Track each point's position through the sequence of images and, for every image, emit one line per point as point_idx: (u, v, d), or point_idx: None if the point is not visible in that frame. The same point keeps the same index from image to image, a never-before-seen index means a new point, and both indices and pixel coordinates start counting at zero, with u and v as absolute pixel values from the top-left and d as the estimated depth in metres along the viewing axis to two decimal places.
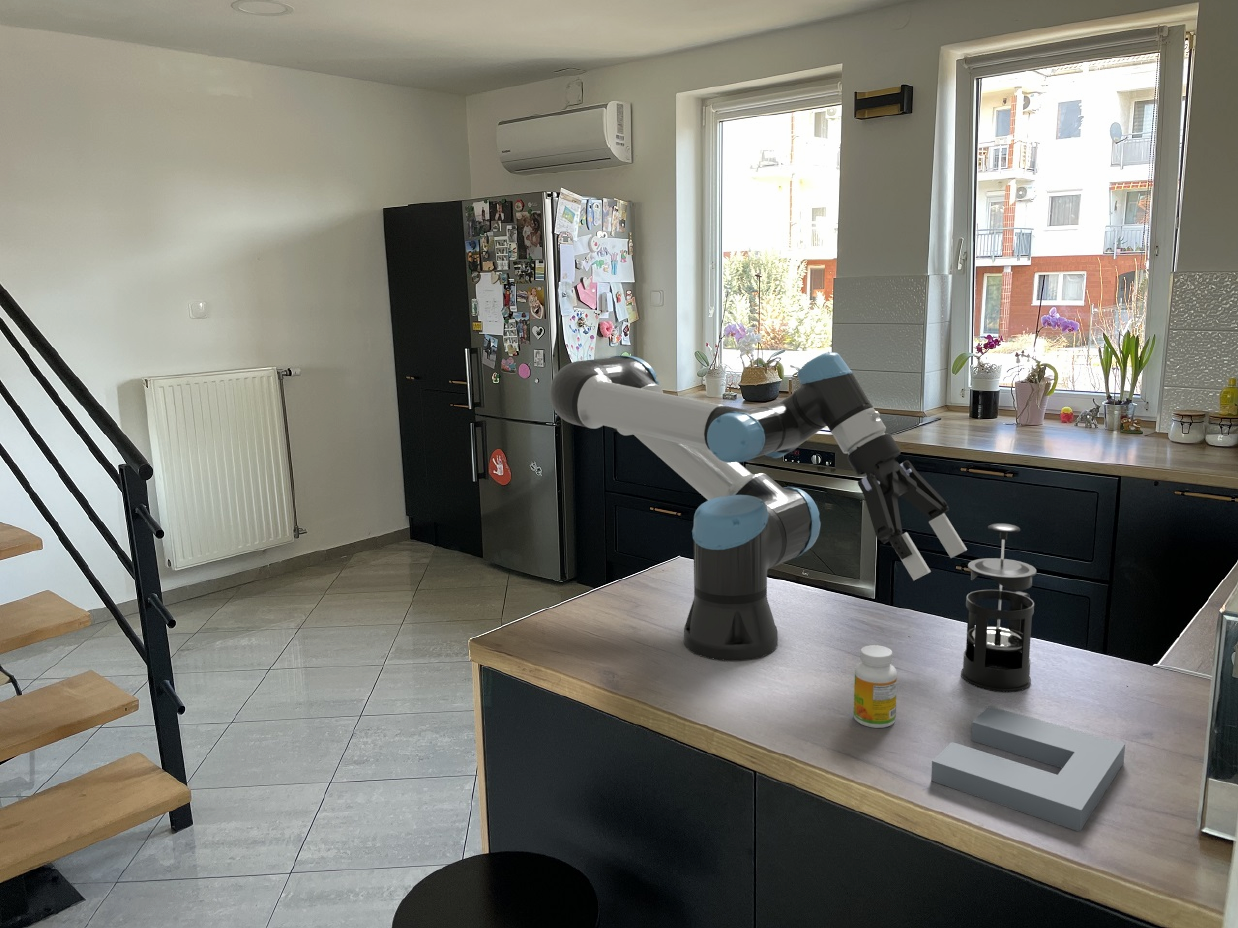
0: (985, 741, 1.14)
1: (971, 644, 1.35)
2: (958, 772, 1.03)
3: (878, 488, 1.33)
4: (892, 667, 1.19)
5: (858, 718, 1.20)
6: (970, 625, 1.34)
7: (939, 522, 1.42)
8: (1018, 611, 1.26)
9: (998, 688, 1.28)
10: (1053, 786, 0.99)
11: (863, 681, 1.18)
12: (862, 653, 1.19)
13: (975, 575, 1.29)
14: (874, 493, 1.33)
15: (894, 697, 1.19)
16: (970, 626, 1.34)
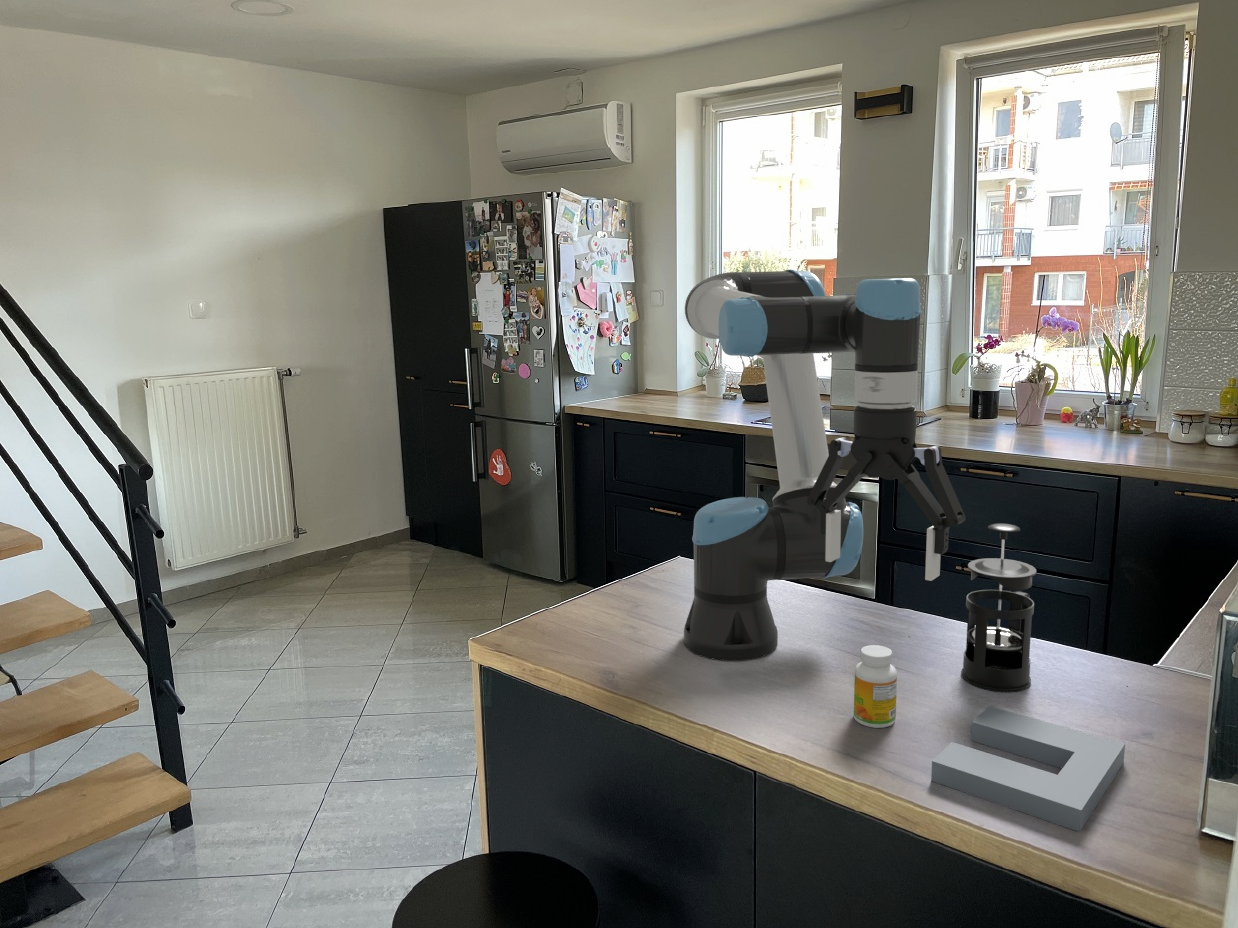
0: (985, 741, 1.14)
1: (971, 644, 1.35)
2: (958, 772, 1.03)
3: (832, 458, 1.18)
4: (892, 667, 1.19)
5: (858, 718, 1.20)
6: (970, 625, 1.34)
7: None
8: (1018, 611, 1.26)
9: (998, 688, 1.28)
10: (1053, 786, 0.99)
11: (863, 681, 1.18)
12: (862, 653, 1.19)
13: (975, 575, 1.29)
14: None
15: (894, 697, 1.19)
16: (970, 626, 1.34)
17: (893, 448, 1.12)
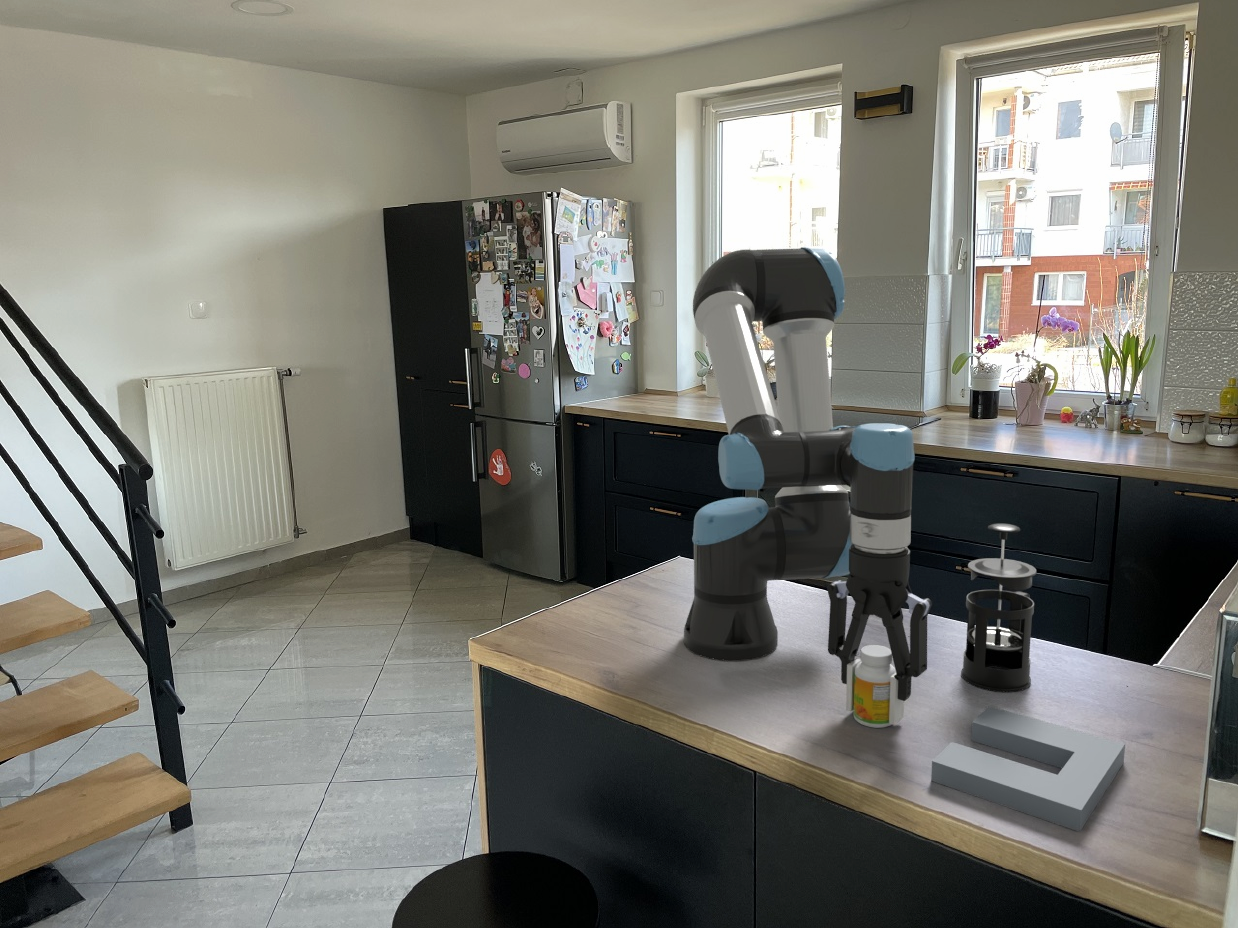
0: (985, 741, 1.14)
1: (971, 644, 1.35)
2: (958, 772, 1.03)
3: (834, 603, 1.21)
4: (892, 667, 1.19)
5: (858, 718, 1.20)
6: (970, 625, 1.34)
7: None
8: (1018, 611, 1.26)
9: (998, 688, 1.28)
10: (1053, 786, 0.99)
11: (863, 680, 1.18)
12: (862, 653, 1.19)
13: (975, 575, 1.29)
14: None
15: None
16: (970, 626, 1.34)
17: (889, 586, 1.15)
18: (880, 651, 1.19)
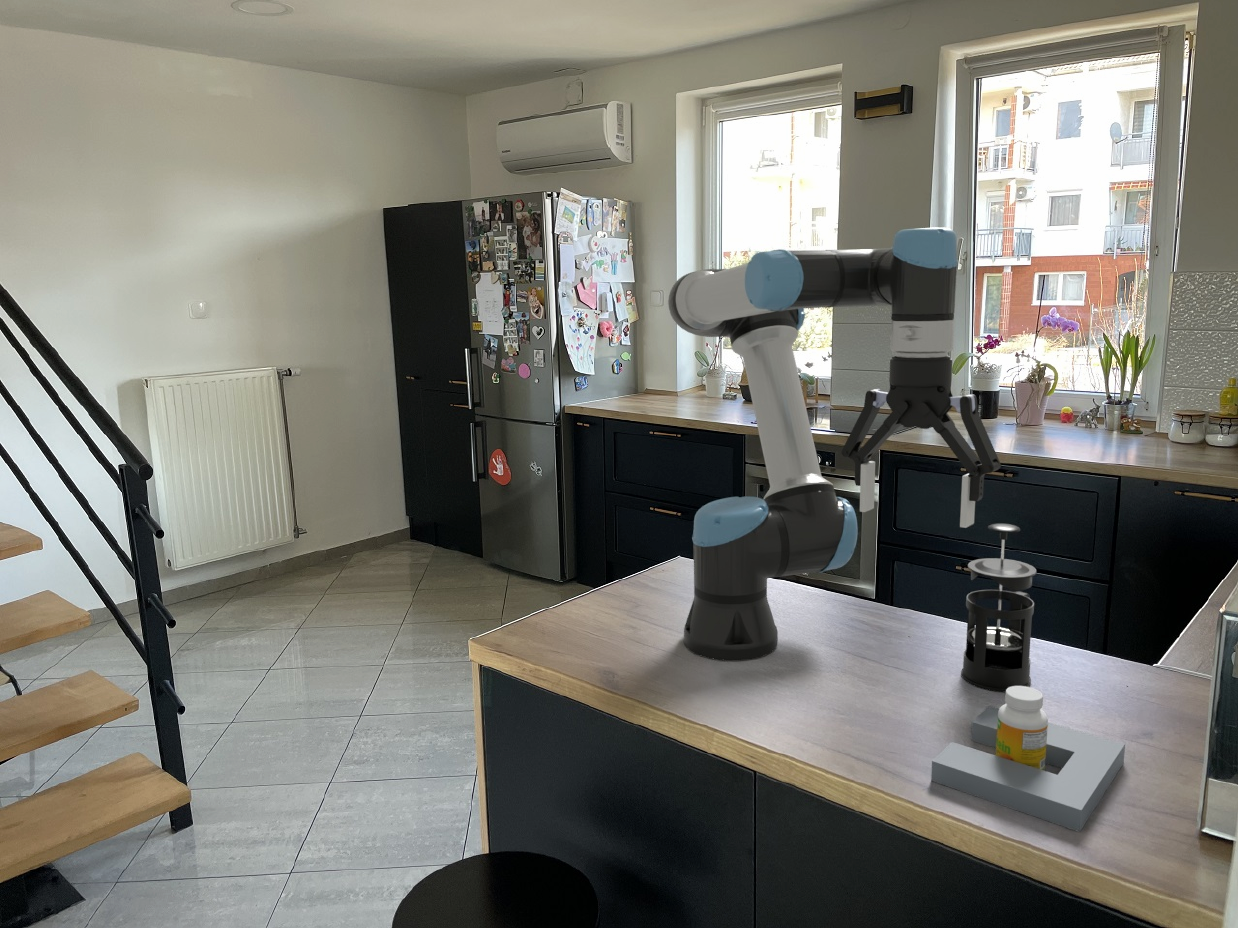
0: (985, 741, 1.14)
1: (971, 644, 1.35)
2: (958, 772, 1.03)
3: (867, 409, 1.20)
4: (1042, 711, 1.06)
5: None
6: (970, 625, 1.34)
7: None
8: (1018, 611, 1.26)
9: (998, 688, 1.28)
10: (1053, 786, 0.99)
11: (1010, 727, 1.05)
12: (1008, 696, 1.06)
13: (975, 575, 1.29)
14: None
15: (1045, 745, 1.05)
16: (970, 626, 1.34)
17: (929, 397, 1.14)
18: (1029, 693, 1.06)
